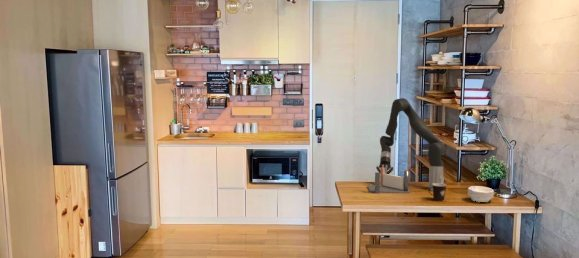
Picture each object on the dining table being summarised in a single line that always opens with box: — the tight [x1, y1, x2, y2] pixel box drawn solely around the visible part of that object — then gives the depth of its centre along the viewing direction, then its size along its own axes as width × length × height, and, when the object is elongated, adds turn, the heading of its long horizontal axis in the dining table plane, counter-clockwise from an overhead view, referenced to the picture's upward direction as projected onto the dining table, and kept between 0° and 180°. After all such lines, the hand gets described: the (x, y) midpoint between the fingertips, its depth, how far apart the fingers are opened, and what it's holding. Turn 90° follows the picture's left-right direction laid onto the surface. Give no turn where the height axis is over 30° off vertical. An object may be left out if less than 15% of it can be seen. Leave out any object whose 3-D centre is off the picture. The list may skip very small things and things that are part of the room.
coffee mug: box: [428, 183, 447, 202], centre depth 294 cm, size 12×9×10 cm
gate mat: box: [367, 184, 411, 194], centre depth 321 cm, size 27×17×1 cm, turn 87°
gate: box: [380, 167, 404, 190], centre depth 322 cm, size 19×2×12 cm, turn 42°
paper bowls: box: [467, 185, 495, 203], centre depth 292 cm, size 15×15×8 cm
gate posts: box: [374, 169, 410, 194], centre depth 312 cm, size 23×3×15 cm, turn 95°
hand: (384, 178), depth 330 cm, fingers closed
